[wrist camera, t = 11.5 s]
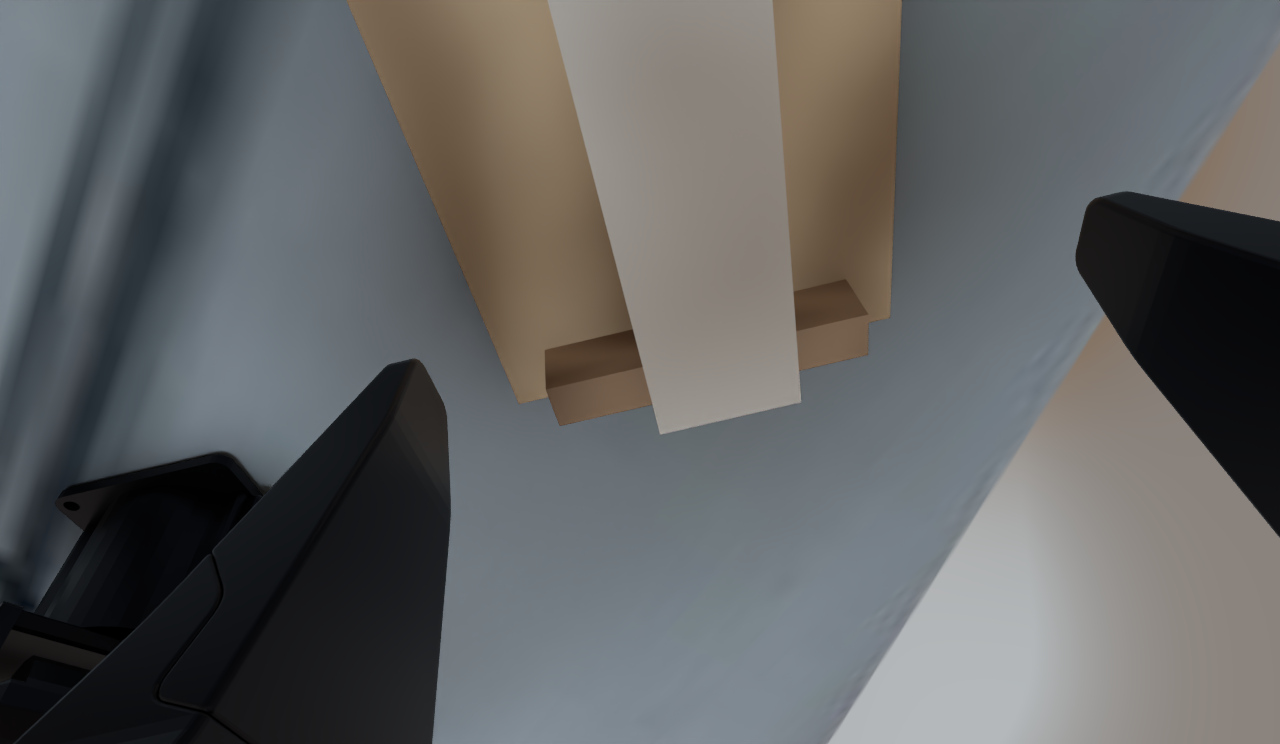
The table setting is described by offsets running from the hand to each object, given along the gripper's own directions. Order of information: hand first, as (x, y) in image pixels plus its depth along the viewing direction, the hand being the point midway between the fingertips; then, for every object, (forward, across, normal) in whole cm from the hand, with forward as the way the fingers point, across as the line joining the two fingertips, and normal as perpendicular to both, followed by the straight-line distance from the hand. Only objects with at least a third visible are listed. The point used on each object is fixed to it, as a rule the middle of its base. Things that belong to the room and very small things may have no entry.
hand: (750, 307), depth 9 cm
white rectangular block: (+11, 0, 0) cm, 11 cm away
